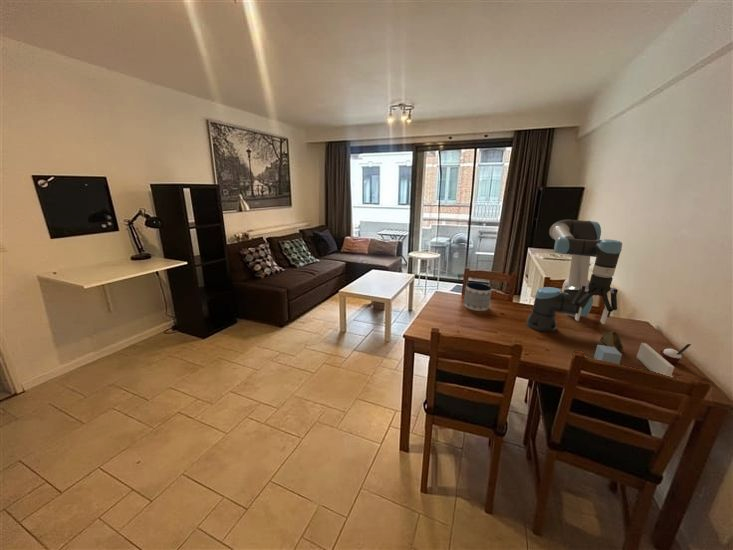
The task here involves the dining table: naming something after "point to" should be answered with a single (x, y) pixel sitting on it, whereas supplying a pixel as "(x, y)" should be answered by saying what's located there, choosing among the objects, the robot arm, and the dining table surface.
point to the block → (607, 354)
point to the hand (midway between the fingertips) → (589, 321)
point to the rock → (612, 340)
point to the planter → (477, 296)
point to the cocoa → (673, 354)
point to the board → (654, 360)
